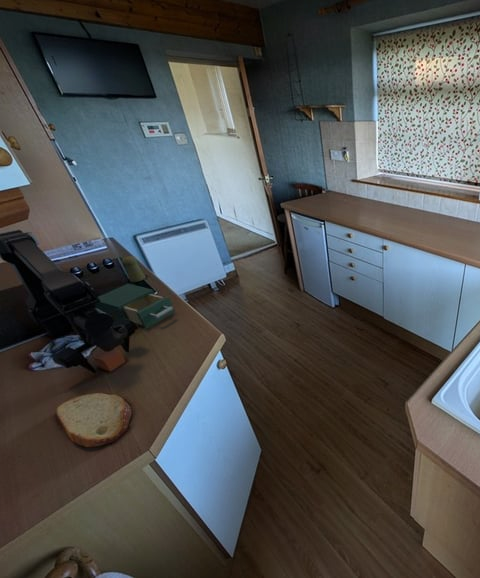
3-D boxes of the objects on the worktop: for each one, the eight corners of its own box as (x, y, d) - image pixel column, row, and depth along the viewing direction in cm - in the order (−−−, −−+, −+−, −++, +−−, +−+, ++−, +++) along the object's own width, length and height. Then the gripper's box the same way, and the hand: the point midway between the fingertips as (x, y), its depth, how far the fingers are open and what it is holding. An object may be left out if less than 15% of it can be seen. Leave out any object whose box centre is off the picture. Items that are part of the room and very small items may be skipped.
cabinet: (161, 308, 116) (153, 289, 112) (128, 326, 106) (117, 306, 102) (137, 301, 120) (128, 283, 116) (103, 318, 110) (91, 299, 106)
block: (110, 371, 88) (103, 360, 85) (100, 367, 89) (93, 357, 87) (125, 361, 91) (119, 351, 89) (116, 358, 92) (109, 347, 90)
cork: (127, 282, 133) (116, 260, 128) (133, 276, 138) (122, 255, 133) (142, 281, 135) (132, 259, 129) (147, 275, 140) (138, 254, 134)
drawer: (183, 313, 112) (177, 298, 109) (154, 331, 103) (147, 315, 99) (152, 305, 117) (145, 290, 113) (121, 321, 107) (113, 306, 104)
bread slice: (65, 403, 78) (58, 394, 76) (145, 385, 83) (140, 376, 82) (22, 469, 63) (11, 459, 61) (122, 442, 69) (115, 432, 67)
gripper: (63, 349, 72) (94, 392, 80) (140, 309, 87) (160, 348, 95) (36, 339, 75) (68, 381, 83) (114, 302, 90) (135, 340, 98)
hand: (111, 362), depth 89 cm, fingers open, 9 cm apart
